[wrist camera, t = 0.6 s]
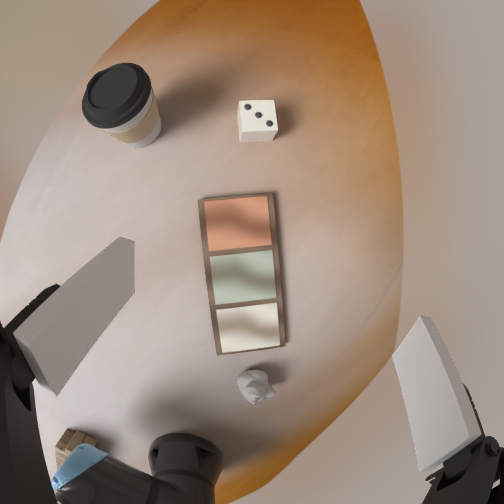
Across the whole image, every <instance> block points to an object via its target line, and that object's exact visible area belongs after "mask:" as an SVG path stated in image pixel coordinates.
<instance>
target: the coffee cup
mask: <svg viewBox="0 0 504 504" xmlns="http://www.w3.org/2000/svg"><path fill="white" fill-rule="evenodd" d="M82 111H83V114H84V116H85V118H86V119H87V120H88V122H89V123H90V124H92V125H93V126H95V127H98V128H100V129H101V130H102V131H104V132H105V133H107V134H109V135H110V136H112V137H113V138H115V139H117V140H118V141H120V142H123V143H125V144H126V145H128V146H129V147H132V148H143V147H146V146H148V145H150V144H151V143H152V142H153V141H155V139H156V138H157V137H158V135H159V133H160V131H161V119H160V116H159V110H158V106H157V103H156V99H155V96H154V92H153V89H152V87H151V81H150V78H149V76H148V75H147V73H146V72H145V71H144V69H143V68H142V67H140V66H139V65H136V64H133V63H121V64H116V65H114V66H111V67H109V68H107V69H105V70H103V71H100V72H98V73H97V74H95V75H94V76H93V77H92V79H91V80H90V81H89V83H88V85H87V88H86V91H85V94H84V96H83V100H82Z"/></svg>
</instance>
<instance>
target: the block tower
mask: <svg viewBox="0 0 504 504" xmlns="http://www.w3.org/2000/svg"><path fill="white" fill-rule="evenodd" d="M80 444H90V445H92V446H93V447H95V448H96V444H97V440H96V439H94V438H92V437H90V436H86V434H84V433H82V432H80V431H78V430H77V431H76V432H73V431H71V430H69V429H67V430H66V431H65V432H64V434H63V435H62V437H61V438H60V441H58V443H57V444H56V446H55V450H56V462H57V470H58V469H59V468H60V466H61V465H62V464H63V462H64V461H65V460H66V458H67V457H68V456H69V455H70V454H71V452H72V451H73V450H74V449H75V448H76V447H77V446H78V445H80Z"/></svg>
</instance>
